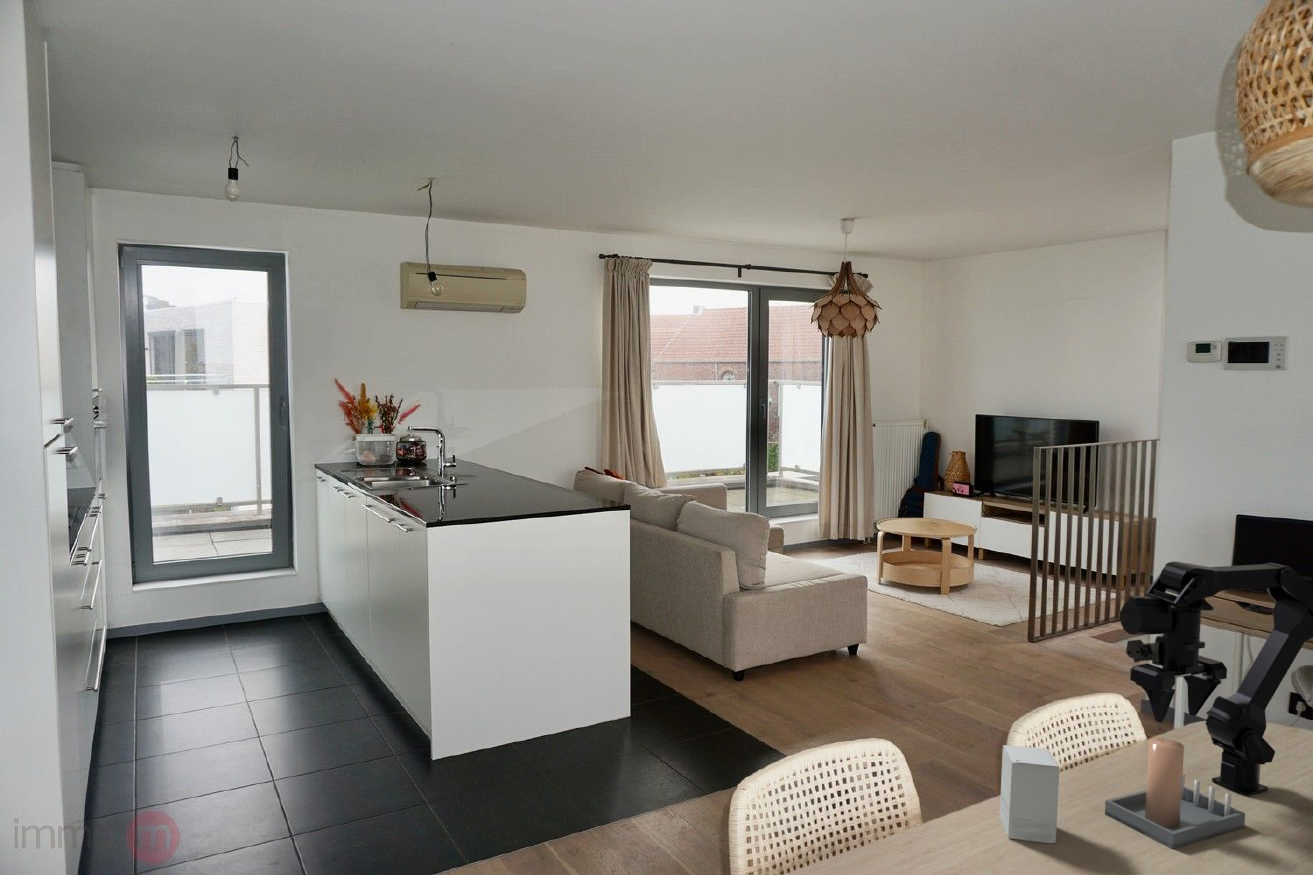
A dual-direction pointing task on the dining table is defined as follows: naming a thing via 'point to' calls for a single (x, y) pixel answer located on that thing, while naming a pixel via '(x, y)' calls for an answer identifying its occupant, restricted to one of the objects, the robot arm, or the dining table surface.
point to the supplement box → (1029, 794)
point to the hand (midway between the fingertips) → (1175, 718)
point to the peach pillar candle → (1164, 782)
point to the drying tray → (1196, 816)
